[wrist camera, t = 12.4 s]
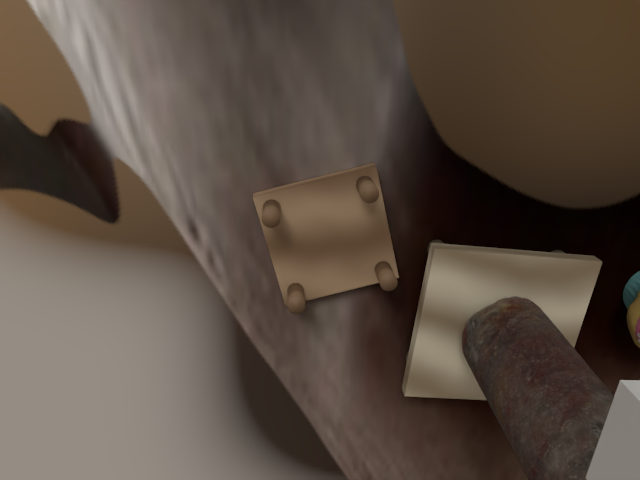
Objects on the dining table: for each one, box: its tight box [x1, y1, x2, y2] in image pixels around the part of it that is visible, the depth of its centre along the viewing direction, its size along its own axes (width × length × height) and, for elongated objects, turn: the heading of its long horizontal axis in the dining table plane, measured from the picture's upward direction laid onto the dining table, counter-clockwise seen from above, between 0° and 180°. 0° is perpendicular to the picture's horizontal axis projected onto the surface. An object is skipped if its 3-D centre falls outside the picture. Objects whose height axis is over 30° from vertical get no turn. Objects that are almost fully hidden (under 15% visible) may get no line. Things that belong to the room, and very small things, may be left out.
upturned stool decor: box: [253, 163, 399, 314], centre depth 43 cm, size 10×10×4 cm
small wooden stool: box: [402, 240, 602, 400], centre depth 46 cm, size 14×14×4 cm
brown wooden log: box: [462, 296, 614, 480], centre depth 35 cm, size 8×7×20 cm
